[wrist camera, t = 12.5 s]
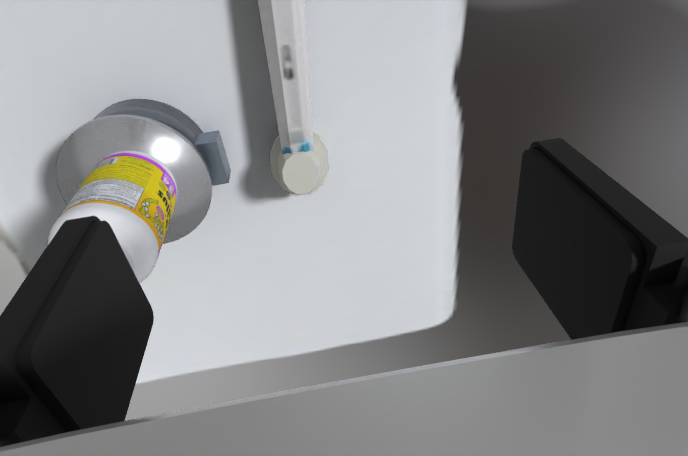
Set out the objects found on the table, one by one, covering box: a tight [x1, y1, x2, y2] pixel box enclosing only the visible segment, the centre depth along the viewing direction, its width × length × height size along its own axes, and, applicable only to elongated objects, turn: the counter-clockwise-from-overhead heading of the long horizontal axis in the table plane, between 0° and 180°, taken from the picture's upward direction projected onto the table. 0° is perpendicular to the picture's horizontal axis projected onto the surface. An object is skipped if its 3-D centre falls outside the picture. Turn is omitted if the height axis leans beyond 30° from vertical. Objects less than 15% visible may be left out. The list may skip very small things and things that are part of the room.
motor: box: [56, 99, 231, 244], centre depth 41 cm, size 12×13×6 cm
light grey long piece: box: [258, 0, 329, 196], centre depth 37 cm, size 5×7×25 cm
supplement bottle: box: [48, 151, 178, 283], centre depth 33 cm, size 7×7×13 cm
